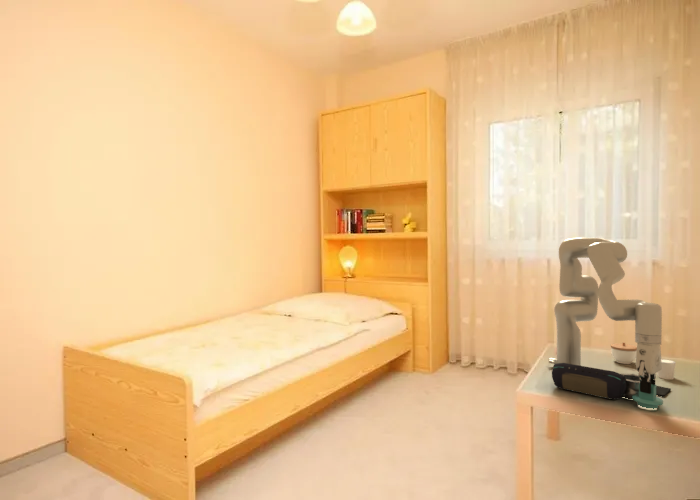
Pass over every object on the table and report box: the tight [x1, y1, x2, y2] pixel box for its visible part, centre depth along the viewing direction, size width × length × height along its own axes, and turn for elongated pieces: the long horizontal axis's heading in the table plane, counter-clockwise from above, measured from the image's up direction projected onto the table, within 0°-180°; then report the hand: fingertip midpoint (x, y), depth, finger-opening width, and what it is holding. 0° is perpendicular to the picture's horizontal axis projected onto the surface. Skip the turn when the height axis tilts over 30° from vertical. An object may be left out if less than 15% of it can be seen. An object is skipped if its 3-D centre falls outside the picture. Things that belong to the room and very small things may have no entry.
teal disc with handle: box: [632, 383, 664, 409], centre depth 150 cm, size 9×9×8 cm
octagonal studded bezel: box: [621, 373, 640, 399], centre depth 160 cm, size 10×10×7 cm
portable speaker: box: [551, 363, 627, 400], centre depth 164 cm, size 25×10×10 cm, turn 48°
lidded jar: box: [610, 342, 637, 365], centre depth 205 cm, size 11×11×9 cm
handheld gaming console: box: [656, 385, 671, 398], centre depth 166 cm, size 12×7×10 cm
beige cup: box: [656, 358, 676, 380], centre depth 183 cm, size 7×7×7 cm
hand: (647, 390), depth 150 cm, fingers open, 3 cm apart
